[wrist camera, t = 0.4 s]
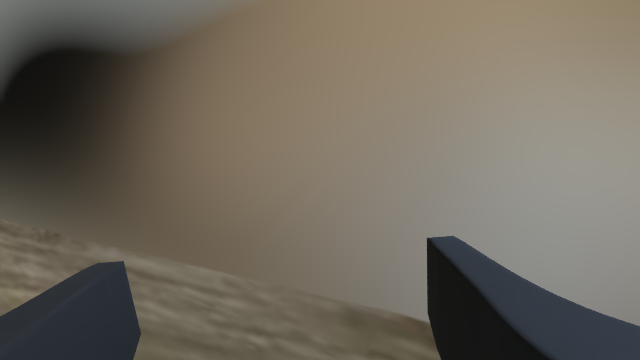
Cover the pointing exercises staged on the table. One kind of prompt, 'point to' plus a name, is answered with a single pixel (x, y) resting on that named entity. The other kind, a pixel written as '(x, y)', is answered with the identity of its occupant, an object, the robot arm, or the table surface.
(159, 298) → the table surface
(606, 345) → the robot arm
